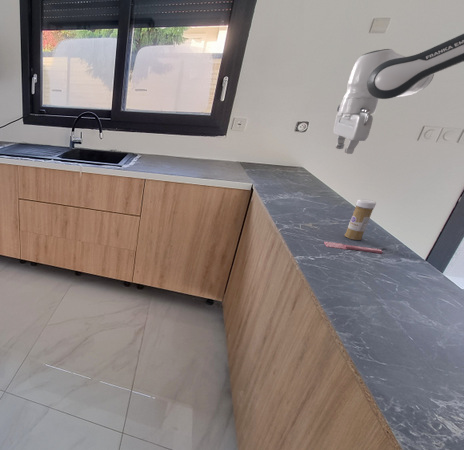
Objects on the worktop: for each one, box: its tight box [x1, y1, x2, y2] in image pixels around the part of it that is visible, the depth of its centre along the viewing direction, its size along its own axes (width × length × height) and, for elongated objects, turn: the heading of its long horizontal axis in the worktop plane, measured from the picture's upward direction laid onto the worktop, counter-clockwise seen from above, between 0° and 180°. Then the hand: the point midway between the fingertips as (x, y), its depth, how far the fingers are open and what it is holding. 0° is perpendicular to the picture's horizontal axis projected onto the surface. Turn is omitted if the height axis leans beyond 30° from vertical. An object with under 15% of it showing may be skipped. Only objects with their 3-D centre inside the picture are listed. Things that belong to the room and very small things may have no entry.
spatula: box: [323, 241, 383, 255], centre depth 99 cm, size 14×4×1 cm, turn 65°
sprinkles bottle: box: [344, 198, 377, 241], centre depth 104 cm, size 5×5×13 cm
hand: (343, 151), depth 105 cm, fingers open, 8 cm apart
